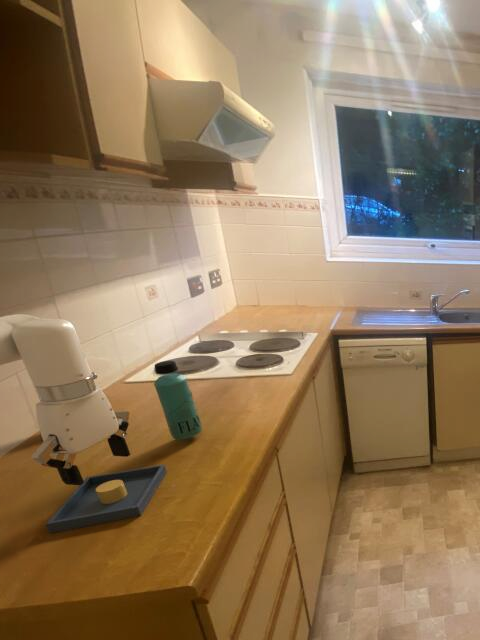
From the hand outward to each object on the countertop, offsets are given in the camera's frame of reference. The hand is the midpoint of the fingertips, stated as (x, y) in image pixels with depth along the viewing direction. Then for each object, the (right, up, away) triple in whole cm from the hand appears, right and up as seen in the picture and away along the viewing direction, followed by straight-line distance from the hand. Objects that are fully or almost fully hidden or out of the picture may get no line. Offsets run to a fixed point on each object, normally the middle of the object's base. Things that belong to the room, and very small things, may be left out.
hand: (99, 469), depth 84 cm
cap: (+2, -6, +1) cm, 6 cm away
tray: (+2, -6, +1) cm, 7 cm away
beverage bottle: (0, +3, +23) cm, 23 cm away
